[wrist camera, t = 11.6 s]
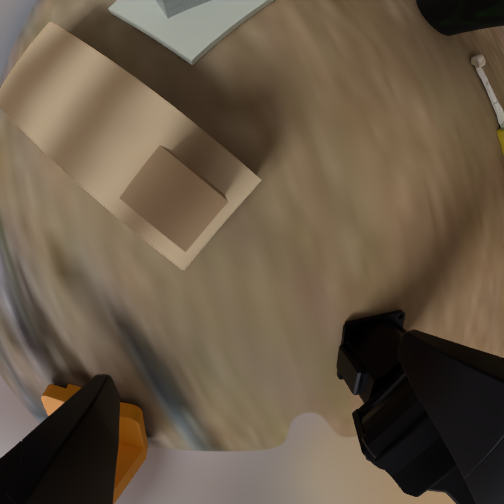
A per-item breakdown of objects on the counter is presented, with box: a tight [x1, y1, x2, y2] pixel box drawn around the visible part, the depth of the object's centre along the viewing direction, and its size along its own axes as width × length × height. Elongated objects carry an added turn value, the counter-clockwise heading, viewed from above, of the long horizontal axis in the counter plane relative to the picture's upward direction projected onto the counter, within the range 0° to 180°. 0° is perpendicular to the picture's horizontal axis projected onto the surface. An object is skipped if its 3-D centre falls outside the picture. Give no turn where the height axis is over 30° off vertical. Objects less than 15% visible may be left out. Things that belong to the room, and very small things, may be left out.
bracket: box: [41, 384, 148, 504], centre depth 17 cm, size 11×7×12 cm, turn 80°
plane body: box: [0, 21, 261, 271], centre depth 13 cm, size 20×7×6 cm, turn 48°
